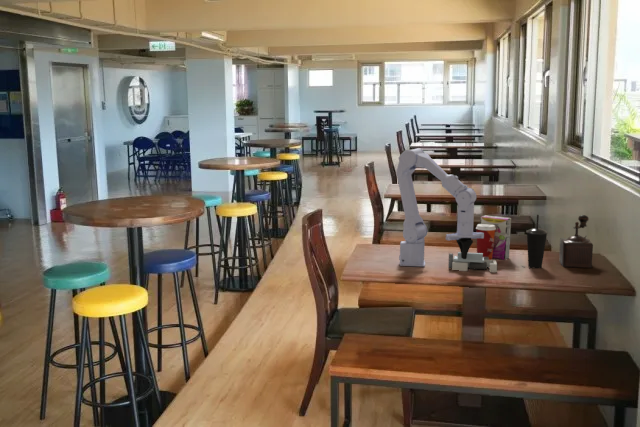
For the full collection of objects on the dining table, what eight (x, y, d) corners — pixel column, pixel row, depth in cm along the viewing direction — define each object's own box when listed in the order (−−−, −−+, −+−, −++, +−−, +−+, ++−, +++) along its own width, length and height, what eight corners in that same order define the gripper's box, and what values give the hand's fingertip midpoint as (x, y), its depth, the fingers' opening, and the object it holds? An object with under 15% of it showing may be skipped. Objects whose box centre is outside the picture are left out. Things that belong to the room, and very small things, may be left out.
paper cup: (495, 262, 259) (496, 227, 257) (474, 262, 260) (476, 226, 258) (493, 258, 267) (495, 223, 264) (474, 257, 268) (475, 223, 266)
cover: (453, 261, 248) (454, 252, 247) (454, 257, 253) (454, 249, 252) (483, 262, 245) (484, 254, 245) (483, 259, 250) (484, 251, 250)
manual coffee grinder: (594, 268, 250) (597, 221, 247) (563, 267, 252) (566, 220, 249) (585, 258, 266) (588, 214, 263) (556, 257, 267) (558, 213, 264)
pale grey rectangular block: (448, 270, 248) (449, 255, 247) (448, 265, 256) (448, 251, 255) (496, 272, 245) (497, 257, 244) (494, 266, 253) (495, 252, 252)
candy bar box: (478, 256, 269) (479, 216, 266) (482, 254, 273) (484, 214, 270) (505, 260, 263) (507, 219, 260) (509, 258, 267) (511, 217, 264)
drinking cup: (523, 268, 251) (526, 215, 247) (525, 263, 258) (527, 212, 254) (545, 270, 248) (548, 217, 245) (545, 265, 255) (548, 213, 252)
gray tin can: (469, 268, 252) (470, 269, 249) (469, 260, 252) (470, 261, 249) (485, 269, 251) (486, 270, 248) (486, 261, 251) (486, 262, 248)
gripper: (452, 224, 238) (451, 262, 240) (488, 222, 242) (487, 259, 244) (443, 221, 244) (442, 257, 246) (478, 219, 248) (477, 255, 251)
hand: (464, 258), depth 246 cm, fingers closed, pressing on cover
